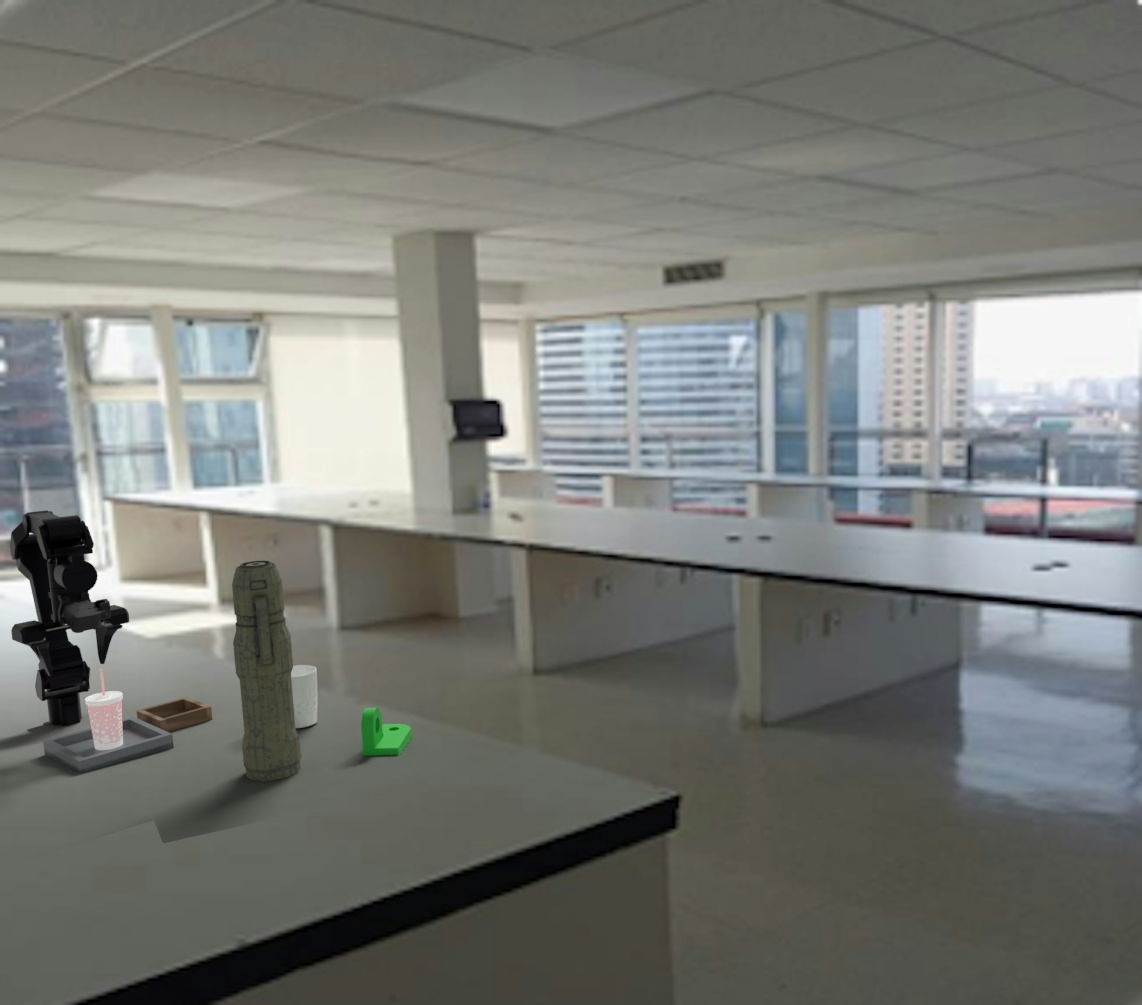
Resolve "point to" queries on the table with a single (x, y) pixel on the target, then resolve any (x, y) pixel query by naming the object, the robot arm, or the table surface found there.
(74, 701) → the robot arm
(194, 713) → the square frame
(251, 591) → the thermos
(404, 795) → the table surface
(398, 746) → the mechanical part
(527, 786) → the table surface
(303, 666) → the white cup
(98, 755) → the tray
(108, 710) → the beverage cup
